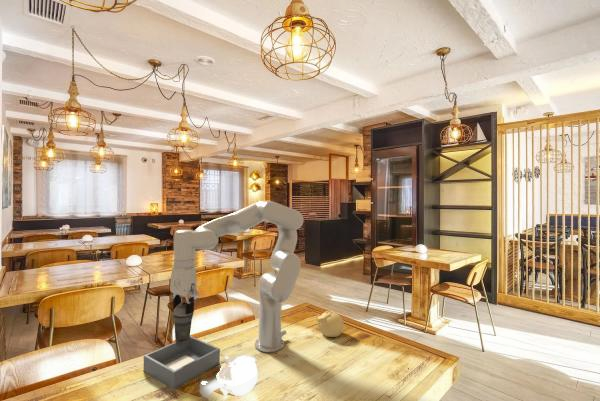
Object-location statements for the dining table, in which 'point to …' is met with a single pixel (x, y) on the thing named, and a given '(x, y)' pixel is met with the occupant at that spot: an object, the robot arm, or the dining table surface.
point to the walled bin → (181, 362)
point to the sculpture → (330, 324)
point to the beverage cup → (182, 324)
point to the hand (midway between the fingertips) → (183, 310)
